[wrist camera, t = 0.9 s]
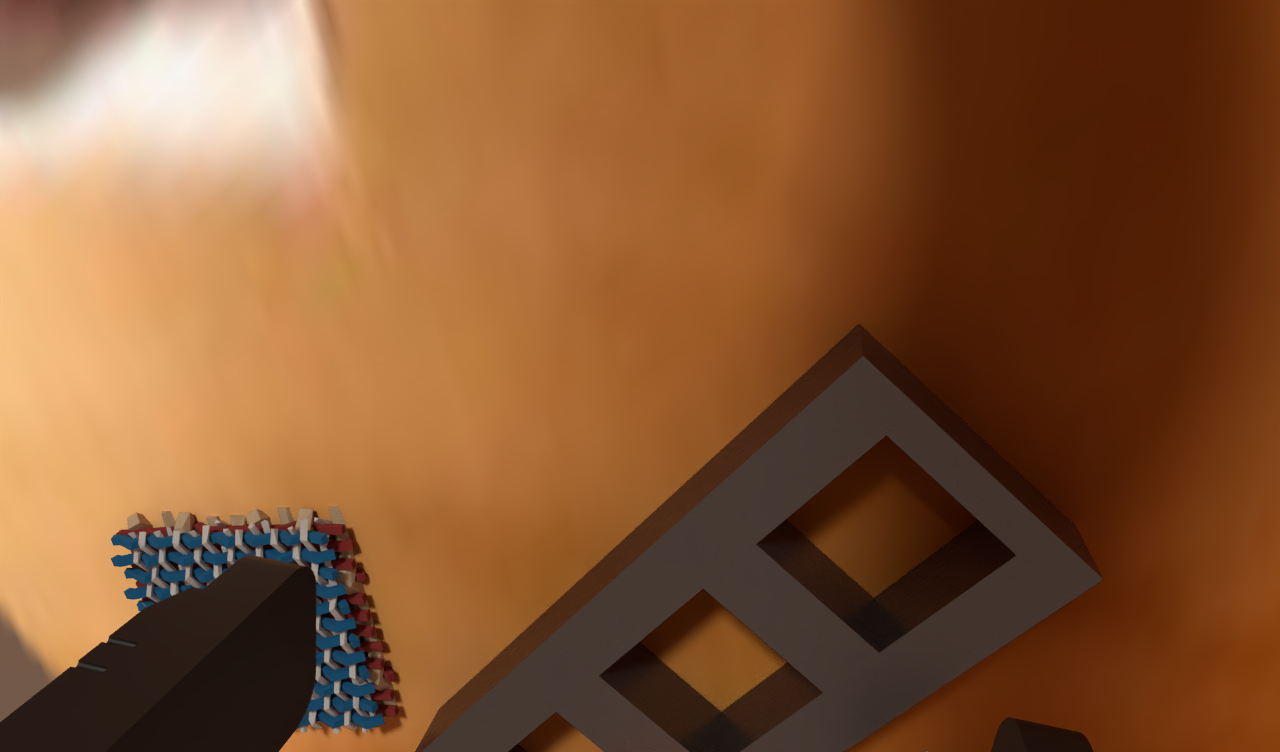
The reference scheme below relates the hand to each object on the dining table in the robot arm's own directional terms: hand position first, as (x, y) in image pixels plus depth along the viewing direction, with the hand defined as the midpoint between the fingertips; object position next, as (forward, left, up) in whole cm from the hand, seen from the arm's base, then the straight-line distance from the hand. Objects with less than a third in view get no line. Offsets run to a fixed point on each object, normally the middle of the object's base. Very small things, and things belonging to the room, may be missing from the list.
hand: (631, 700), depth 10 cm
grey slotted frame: (+11, +9, -19) cm, 24 cm away
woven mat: (+25, -4, -20) cm, 32 cm away
